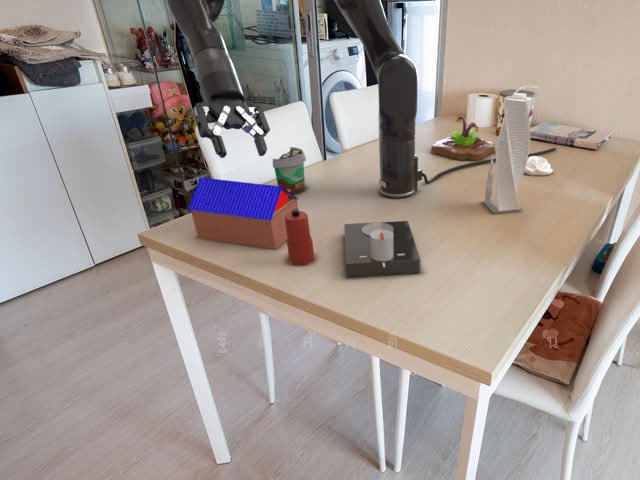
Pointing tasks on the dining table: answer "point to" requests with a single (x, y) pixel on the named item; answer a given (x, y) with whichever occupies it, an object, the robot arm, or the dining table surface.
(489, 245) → the dining table surface
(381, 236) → the hob knob
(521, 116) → the skyscraper
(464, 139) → the plant
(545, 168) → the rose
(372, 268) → the hob
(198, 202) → the house
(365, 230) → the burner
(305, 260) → the red cylindrical canister
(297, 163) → the food container
